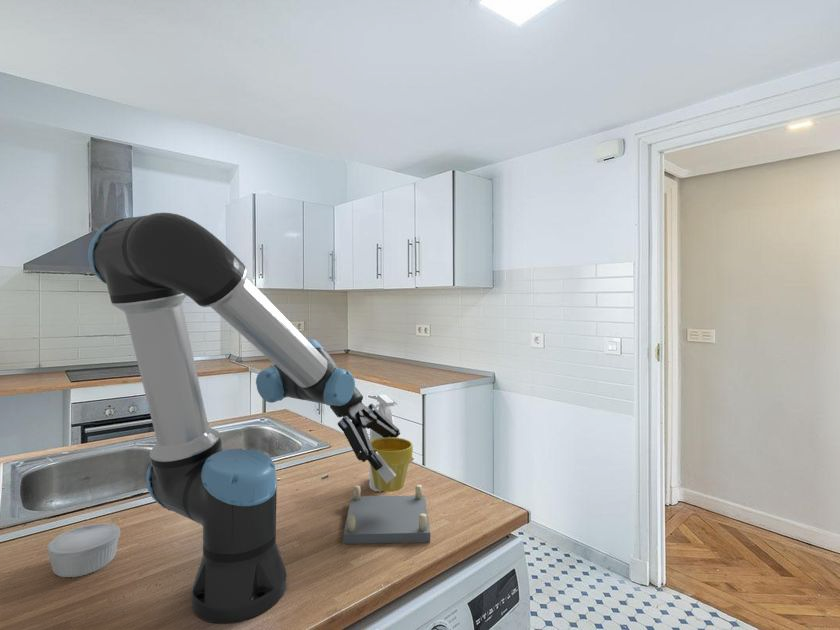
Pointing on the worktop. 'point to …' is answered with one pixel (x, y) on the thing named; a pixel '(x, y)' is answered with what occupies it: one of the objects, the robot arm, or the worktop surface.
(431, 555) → the worktop surface
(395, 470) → the plant pot
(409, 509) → the peg board
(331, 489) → the worktop surface
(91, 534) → the ramekin
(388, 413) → the white spray bottle
